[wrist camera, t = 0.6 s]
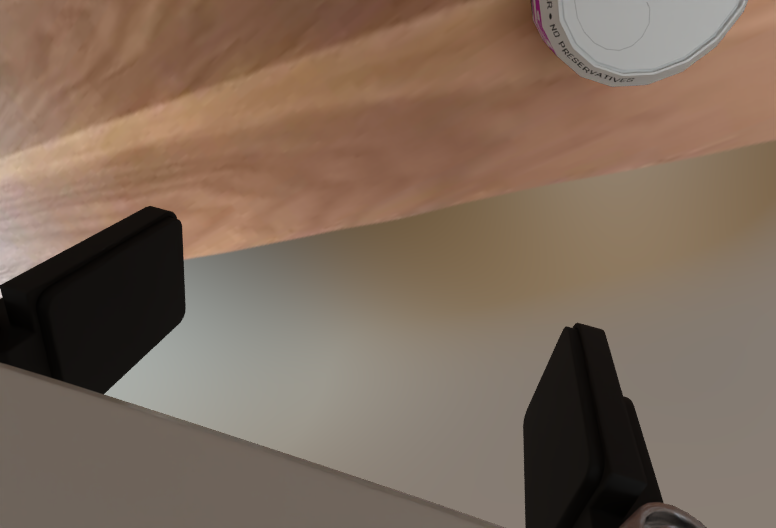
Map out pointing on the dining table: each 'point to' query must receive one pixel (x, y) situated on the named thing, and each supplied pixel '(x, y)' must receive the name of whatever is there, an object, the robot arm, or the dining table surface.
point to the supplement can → (633, 35)
